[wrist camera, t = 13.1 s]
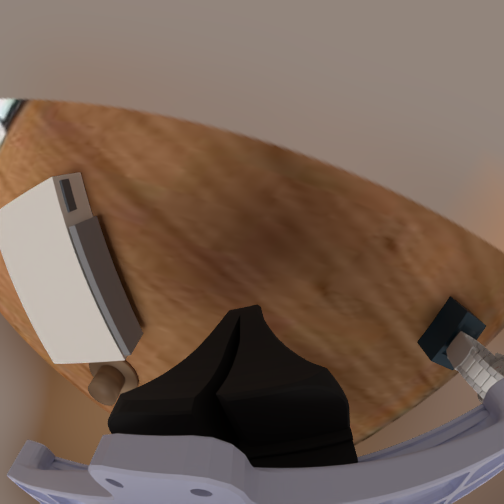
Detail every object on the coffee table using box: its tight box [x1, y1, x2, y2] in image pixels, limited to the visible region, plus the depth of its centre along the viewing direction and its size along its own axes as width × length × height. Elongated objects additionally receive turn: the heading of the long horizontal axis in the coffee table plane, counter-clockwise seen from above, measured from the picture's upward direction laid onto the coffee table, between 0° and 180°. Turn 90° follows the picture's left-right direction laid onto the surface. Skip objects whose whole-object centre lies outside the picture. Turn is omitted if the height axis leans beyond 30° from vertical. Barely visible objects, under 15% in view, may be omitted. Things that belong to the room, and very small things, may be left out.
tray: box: [69, 216, 143, 355], centre depth 20 cm, size 9×10×3 cm
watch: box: [417, 297, 504, 403], centre depth 18 cm, size 6×8×11 cm
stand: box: [88, 360, 138, 405], centre depth 24 cm, size 6×6×4 cm
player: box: [0, 172, 128, 364], centre depth 20 cm, size 9×15×4 cm, turn 14°
